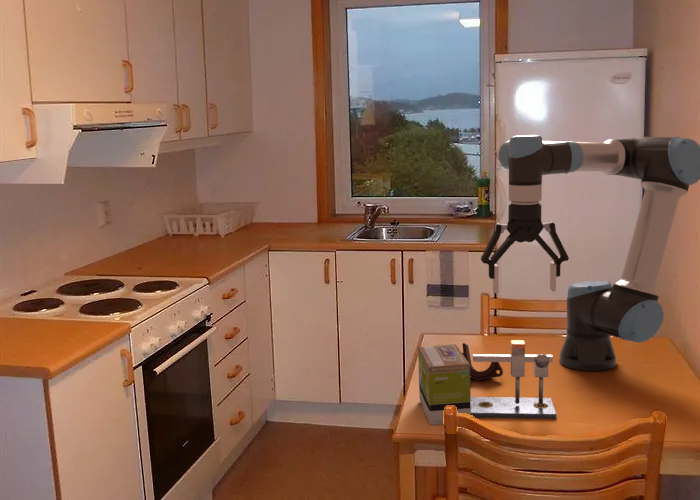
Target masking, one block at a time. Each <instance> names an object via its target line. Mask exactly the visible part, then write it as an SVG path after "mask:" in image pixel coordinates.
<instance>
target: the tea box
mask: <svg viewBox="0 0 700 500" xmlns="http://www.w3.org/2000/svg"><path fill="white" fill-rule="evenodd" d="M417 350H418V351H417V360H418V361H417V362H418V386H419V387H418V389H419V391H418V392H419V393H418V394H419V401H420V404H421V406H422V409H423V411H424V414H425V415H426V418H427V420H428V423H429V425H430V426H438V425H437V424H442V425H444V424H443V411H444V407H445V406H446V405H455V406H456V407H457V411H458V413H467V414H470V415H471V397H472V396H471V376H470V364H469V362H468V361H467V360H466V358H465V357H464V355H463V354H462V353H463V351H462V350H460V348H459V347H458V345H457V344H456V343H455V344H454V343H453V344H452V343H451V344H442V345H425V346H417Z"/></svg>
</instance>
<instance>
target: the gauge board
mask: <svg viewBox="0 0 700 500" xmlns="http://www.w3.org/2000/svg"><path fill="white" fill-rule="evenodd" d="M471 415H473V416H475V417H474V418H476V417H477V418H479V419H480V418H481V419H483V418H486V419H488V418H489V419H533V420H534V419H538V420H539V419H543V420H557V411H556V409H555V406H554V402H553V401H552V398H551V397H543V404H539V397H520V399H519V404H516V403H515V397H509V396H508V397H507V396H471Z"/></svg>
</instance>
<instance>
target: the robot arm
mask: <svg viewBox="0 0 700 500" xmlns="http://www.w3.org/2000/svg"><path fill="white" fill-rule="evenodd" d="M498 161H499V164H500V165H501V166H502V167H503V169H507V170H508V201H509V202H510V203H508V215H507V216H508V217H507V220H508V221H507V223H506V224H503V223H499V222H496V223H495V224H494V229H493V233H492V234H491V237H490V239H489V241H488V242H487V245H486V247H485V249H484V251H483V253H482V255H481V257H480V261H481V262H482V263H483V264H486V265H488V277H489V279H490V280H491V279H492V291H493V292H494V293H495V294H498V293H499V265H498V264H497V262H498V261H499V260H500V259H502V257H503V255H504V254H505V253H506V252H507V251H508V250H509V249H510V247H511V246H512V245H513V244H514V243H515V242H517V243H524V242H526V243H533V242H534V241H536V243H538V244H539V246H540V247H541V248H542V249H543V250H544V252H545V253H546V254H547V255H548V256H549V257H550V258H551V259H552V260H553V261H550V262H549V263H550V265H549V267H550V269H549V271H550V272H549V289H550V290H551V292H556V291H557V277H558V278H559V277H560V276H561V265H562V263H563V262H567V261H568V260H569V259H570V257H569V255H568V253H567V251H566V249H565V247H564V246H563V244H562V241H561V239H560V237H559V234H557V229H556V223H555V222H553V221H551V220H550V221H548V222H542V204H541V203H540V202H541V201H542V200H543V199H542V194H543V191H542V183H543V176H545V175H559V174H568V173H574V172H577V171H578V172H579V171H580V172H588V171H589V172H602V173H604V174H605V175H607V176H621V177H625V178H631V179H636V180H640V181H641V182H640V186H642V188H643V189H644V193H643V197H642V200H641V201H642V202H641V204H640V207H639V211H638V215H637V218H636V219H637V220H636V223H635V226H634V230H633V234H632V237H631V241H630V245H629V247H628V248H629V249H628V253H627V255H626V259H625V262H624V267H623V270H622V274H621V277H620V278H619V280H616V281H615V282H614V283H613V284H612V283H611V282H610V281H605V280H592V281H591V280H589V281H587V280H586V281H580V282H574V283H572V284H570V285H569V287H568V288H567V297H566V336H565V338H564V341H563V345H562V347H561V349H560V352H559V362H560V364H561V365H563V366H564V367H566V368H569V369H572V370H577V371H582V372H583V371H584V372H602V371H603V372H604V371H609V370H611V369H613V368H615V367H616V366H617V356H616V352H615V349H614V345H613V342H612V339H611V336H614V337H616V338H619V339H621V340H624V341H627V342H633V343H645V342H647V341H649V340H651V338H653V337H654V336H656V334H658V332H659V330H660V328H661V326H662V324H663V322H664V312H663V311H664V309H663V306H662V305H661V303H659V302H658V301H659V297H660V294H659V292H658V291H657V290H656V284H657V281H658V277H659V275H660V274H659V273H660V270H661V266H662V262H663V258H664V255H665V252H666V249H667V248H666V247H667V245H668V241H669V237H670V233H671V230H672V227H673V223H674V218H675V215H676V211H677V207H678V204H679V200H680V198H682V197H684V196H685V195H687V194H688V192H689V187H690V186H691V185H694V184H697V183H698V182H699V180H700V144H699V143H698V142H696V140H694V139H691V138H686V137H679V136H672V137H671V136H637V137H631V138H630V137H628V138H617V139H615V138H614V139H613V138H612V139H606V140H605V141H604V142H594V141H592V142H591V141H589V142H587V141H586V142H585V141H573V140H569V141H568V140H562V141H560V140H559V141H555V140H554V141H552V140H543V137H542V136H541V135H537V134H526V135H525V134H524V135H523V134H522V135H521V134H520V135H519V134H518V135H514V136H513V135H512V137H511V138H510V139H509V140H507V141H505V142H503V143H502V144H501V146H500V148H499V151H498ZM543 229H544V230H545V231H546V232H547V233H548V235H549V236H550V238H551V240H552V242H553V244H554V246H555V247H556V250H557V252H558V254H559V255H557V253H555V252H554V250H553V249H552V248H551V247H550V245H548V244H547V242H546V241H545V240H544V239H543V238H542V237H541V236H540V234H541V232H542V231H543ZM506 230H507V232H508V233H509V234H508V236H506V238H505V240H504V241H503V242H502V243H501V245H500V246H499V247H498V248H497V249H496V250H495V252H494V253H493V251H494V249H495V247H496V246H497V243H498V241H499V239H500V237H501V235H502V234H503V233H504V232H505V231H506ZM492 253H493V254H492Z"/></svg>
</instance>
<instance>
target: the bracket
mask: <svg viewBox="0 0 700 500" xmlns="http://www.w3.org/2000/svg"><path fill="white" fill-rule="evenodd" d="M462 354H463V355H464V357H465V358H466V360H467V361H468V362H469V364H470V378H472V379H474V380H476V381H480V380H481V381H482V380H487V379H492V378H493V379H494V378H500V377H502V376H503V374H504V370H503V368H502V366H501V364H500V362H490V364H489V366H488V367H487V368H486V369H485V370H481V371H479V370H477V369H476V368H474V366H473V364H472V358H471V355H470V348H469V345H468V344H467V343H465V342H463V343H462ZM498 371H499V373H497V372H498Z"/></svg>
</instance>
